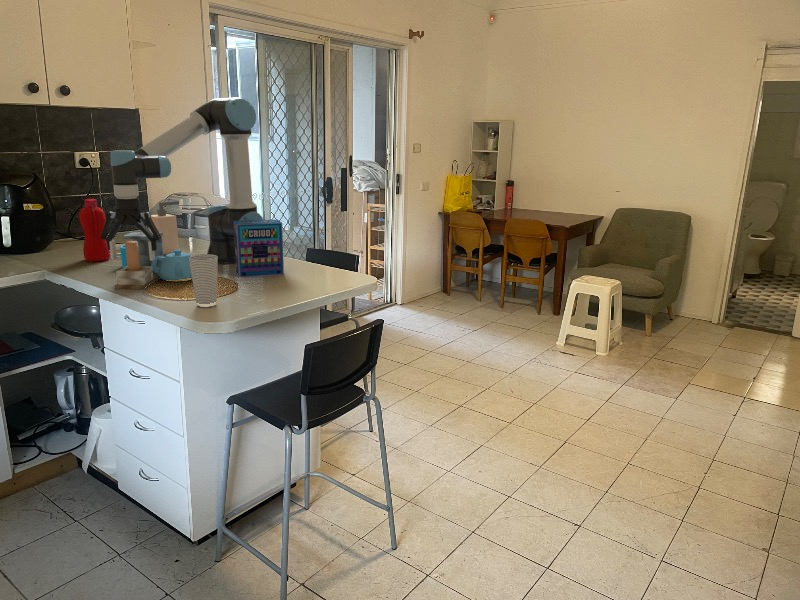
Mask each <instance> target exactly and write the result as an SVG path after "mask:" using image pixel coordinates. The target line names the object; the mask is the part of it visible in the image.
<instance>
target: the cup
mask: <svg viewBox="0 0 800 600" xmlns="http://www.w3.org/2000/svg"><path fill="white" fill-rule="evenodd" d="M189 263H190V269H191V275H192V280H191V281H192V285H193V291H194V293H193V294H194V298H195V304H196V303H199V304H210V303H214V302H216V301H218V264H219V263H218V256H216V255H212V254H207V253H206V254H204V253H203V254H201V253H200V254H194V255H191V256H190V257H189Z"/></svg>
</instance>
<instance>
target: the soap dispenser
mask: <svg viewBox="0 0 800 600" xmlns="http://www.w3.org/2000/svg"><path fill="white" fill-rule="evenodd" d="M174 205H175V206H176V205H177V206H178V205H180V201H179V200H169V201H159V202H158V207H159V209H157V211H156V212H157V214H151V219H152V221H153V222H154V224H155V226H156V228H157V230H158V231H159V233H163V236H162V246H163V255H167V254H170V253H174V250H180V246H179V235H178V234H179V233H178V222H177V215H174V214H169V213H167V211H166V209H164V207H165V206H166V207H167V206H174ZM148 230H149V231H150V232H151V230H150V228H149V227H148Z"/></svg>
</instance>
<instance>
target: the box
mask: <svg viewBox="0 0 800 600" xmlns="http://www.w3.org/2000/svg"><path fill="white" fill-rule="evenodd" d="M283 231H284V230H283V222H281V220H279V219H263V220H249V221H234V239H235V257H236V262H235V268H236V269H235V270H236V274H238V275H237V276H239V277H244V278H258V277H273V276H275V277H276V276H284V275H285V269H284V268H285V266H284V239H283V236H284V235H283ZM239 277H238V278H239Z"/></svg>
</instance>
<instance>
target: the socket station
mask: <svg viewBox="0 0 800 600" xmlns="http://www.w3.org/2000/svg"><path fill="white" fill-rule="evenodd" d="M151 233H152V232H151ZM152 234H153V233H152ZM160 235H161V239H159V240H157V241H156V246H157V249H156V250H155V251H154V253H155V256H162V257H164V254H163V246H162V236H163V233H160ZM122 240H128V241H137V242H138V250H139V260H140V271H128V266H126V267H124V268H120V269H118V270H116V271H115V277H116V278H115V279H116V284H115V285H114V289H117V290H118V289H119V290H127V289H128V290H145V289H146V288H145V287H146V286H148V285H149V284H151V283H153V282H154V283H156V282H157V281H159V280H161V279H162V278H161V277H160V276H159V275H158V274H157V273H156V272H154V271H153V268H152V266H151V264H152V261H150V256H149V245H148V242H149V241H150V240H149V239H148V238H147V236H146V235H145V234H144V233H143V232H142V231H131V232H129V233H126V234H124V235H122ZM161 263H162V261H161V260H157V263H156V266H157V267H159V268H160V265H161ZM158 279H159V280H158ZM155 281H156V282H155ZM154 283H153V284H154ZM151 285H152V284H151ZM148 287H149V286H148ZM144 288H145V289H144Z"/></svg>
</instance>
